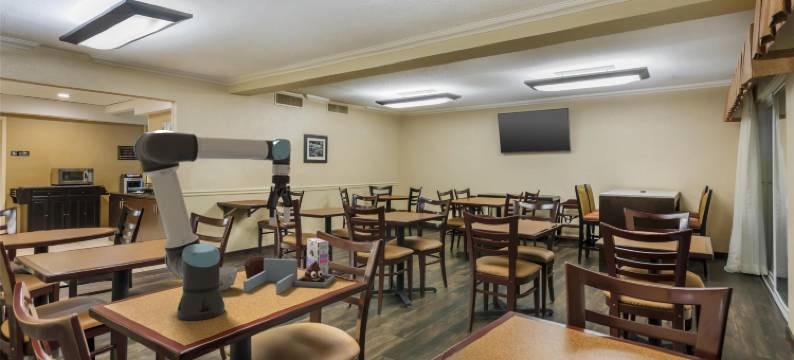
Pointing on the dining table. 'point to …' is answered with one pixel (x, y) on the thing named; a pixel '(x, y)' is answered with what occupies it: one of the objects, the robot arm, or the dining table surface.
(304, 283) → the tray
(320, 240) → the candy box
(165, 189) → the robot arm
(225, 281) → the teacup
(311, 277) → the poop emoji
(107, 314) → the dining table surface
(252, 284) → the bay
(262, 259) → the muffin
